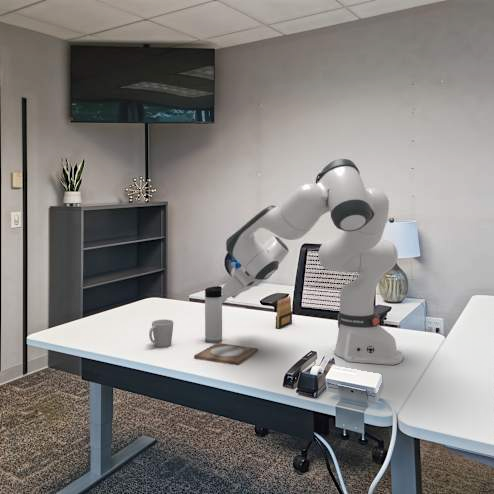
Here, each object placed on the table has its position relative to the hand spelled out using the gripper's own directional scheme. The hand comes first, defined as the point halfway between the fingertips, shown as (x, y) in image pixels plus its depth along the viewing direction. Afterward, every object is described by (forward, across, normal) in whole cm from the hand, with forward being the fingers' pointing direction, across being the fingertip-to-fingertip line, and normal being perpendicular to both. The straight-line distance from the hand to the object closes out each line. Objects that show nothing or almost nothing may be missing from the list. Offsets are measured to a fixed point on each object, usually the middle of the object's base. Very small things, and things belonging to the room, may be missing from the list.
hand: (227, 298), depth 177 cm
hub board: (+7, +12, +16) cm, 21 cm away
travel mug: (+16, -1, +8) cm, 18 cm away
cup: (+26, +13, -2) cm, 29 cm away
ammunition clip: (+4, -32, +19) cm, 37 cm away
